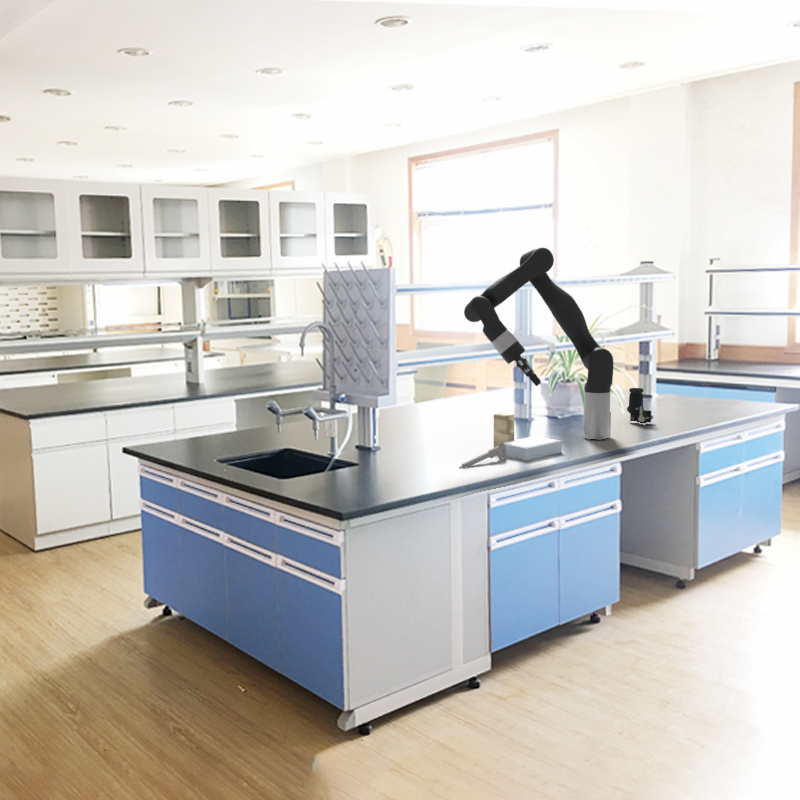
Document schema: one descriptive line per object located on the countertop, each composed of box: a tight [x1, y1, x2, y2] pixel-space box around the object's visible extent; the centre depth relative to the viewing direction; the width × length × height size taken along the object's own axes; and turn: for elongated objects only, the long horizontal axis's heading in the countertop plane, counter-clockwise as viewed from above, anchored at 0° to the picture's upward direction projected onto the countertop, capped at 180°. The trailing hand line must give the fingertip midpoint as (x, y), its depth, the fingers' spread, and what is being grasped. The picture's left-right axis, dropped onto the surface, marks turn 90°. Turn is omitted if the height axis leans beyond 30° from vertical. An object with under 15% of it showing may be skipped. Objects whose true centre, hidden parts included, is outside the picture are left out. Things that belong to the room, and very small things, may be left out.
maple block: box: [493, 412, 515, 448], centre depth 292 cm, size 5×5×12 cm
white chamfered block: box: [501, 435, 563, 461], centre depth 284 cm, size 18×12×4 cm, turn 131°
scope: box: [626, 387, 654, 423], centre depth 338 cm, size 8×14×10 cm
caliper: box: [458, 441, 507, 469], centre depth 270 cm, size 20×1×6 cm, turn 130°
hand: (538, 383), depth 284 cm, fingers open, 8 cm apart
